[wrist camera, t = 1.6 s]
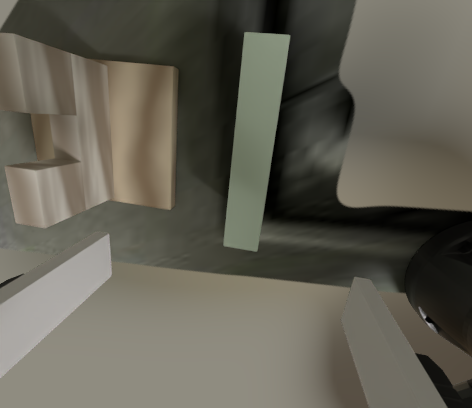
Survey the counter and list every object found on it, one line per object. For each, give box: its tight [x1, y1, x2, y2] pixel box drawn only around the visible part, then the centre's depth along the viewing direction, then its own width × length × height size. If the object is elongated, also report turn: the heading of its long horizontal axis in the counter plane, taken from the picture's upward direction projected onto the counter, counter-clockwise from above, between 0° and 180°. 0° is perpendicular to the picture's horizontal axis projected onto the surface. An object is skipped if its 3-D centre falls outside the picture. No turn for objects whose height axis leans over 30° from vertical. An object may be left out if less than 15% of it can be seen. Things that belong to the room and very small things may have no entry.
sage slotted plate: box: [223, 32, 290, 252], centre depth 23 cm, size 16×3×10 cm, turn 174°
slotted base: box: [0, 33, 179, 228], centre depth 25 cm, size 18×16×12 cm
